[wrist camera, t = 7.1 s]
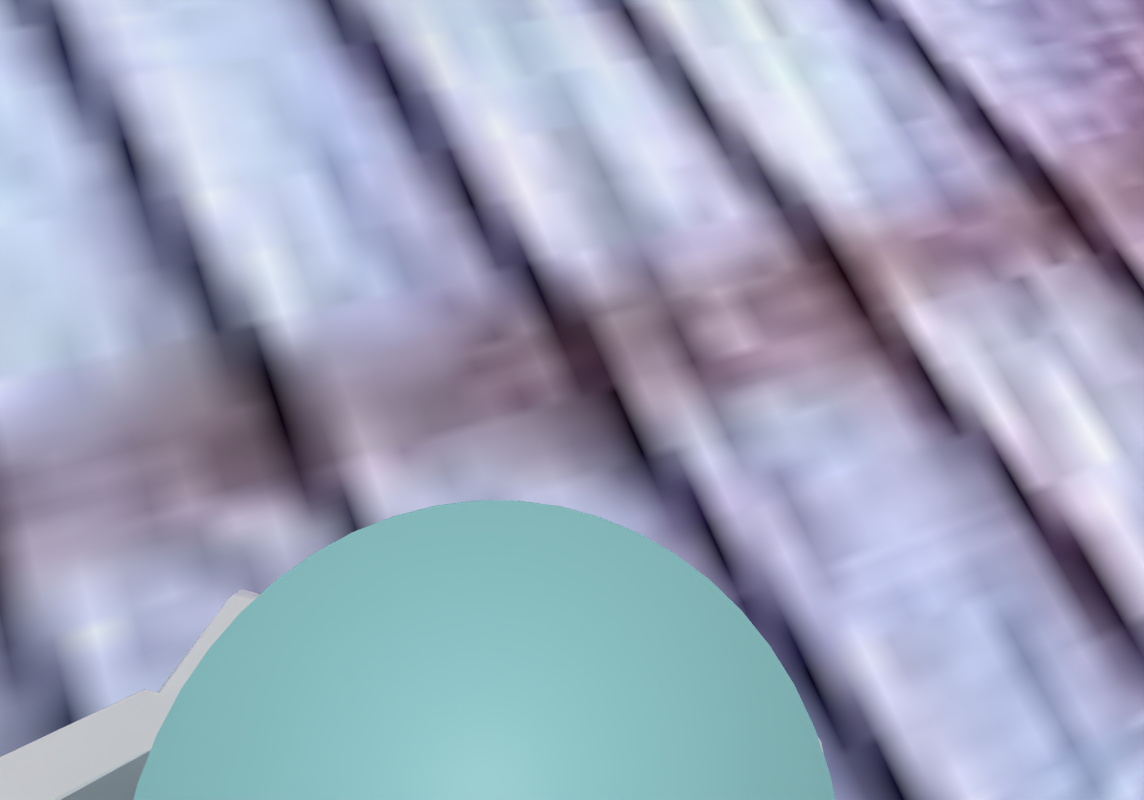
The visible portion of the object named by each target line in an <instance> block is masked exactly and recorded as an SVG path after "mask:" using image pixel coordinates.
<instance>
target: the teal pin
mask: <svg viewBox="0 0 1144 800" xmlns="http://www.w3.org/2000/svg"><path fill="white" fill-rule="evenodd" d="M133 800H835V795H834V791H833V786H832V781H831V776H830V773H829V770H828V767H827V764H826V761H825V758H824V755H823V752H822V749H821V746H820V743H819V740H818V737H817V734H816V731H815V728H814V726H813V724H812V722H811V719H810V717H809V715H808V713H807V711H806V709H805V707H804V705H803V702H802V700H801V698H800V696H799V694H798V692H797V690H796V688H795V685H794V684H793V682H792V681H791V679H790V677H789V676H788V674H787V673H786V671H785V669H784V668H783V666H782V665H781V663H780V661H779V660H778V658H777V656H776V655H775V653H774V652H773V650H772V648H771V647H770V645H769V644H768V643H767V642H766V640H765V639H764V638H763V637H762V636H761V634H760V633H759V632H758V631H757V629H756V628H755V627H754V626H753V624H752V623H751V622H750V621H749V619H748V618H747V617H746V616H745V614H744V613H743V612H742V611H741V610H740V609H739V608H738V607H737V606H736V605H735V604H734V603H733V602H732V601H731V600H730V599H729V598H728V597H727V596H726V595H725V594H724V593H723V592H722V591H721V590H720V589H719V588H718V587H717V586H716V585H715V584H714V583H713V582H711V581H710V580H709V579H708V578H706V577H705V576H704V575H703V574H701V573H700V572H699V571H697V570H696V569H695V568H693V567H692V566H691V565H689V564H688V563H687V562H685V561H684V560H683V559H681V558H680V557H679V556H677V555H676V554H674V553H673V552H671V551H669V550H667V549H666V548H664V547H662V546H660V545H659V544H657V543H655V542H653V541H652V540H650V539H648V538H646V537H645V536H643V535H641V534H640V533H637V532H635V531H632V530H630V529H628V528H625V527H623V526H620V525H618V524H615V523H613V522H611V521H608V520H606V519H603V518H601V517H598V516H594V515H590V514H586V513H583V512H579V511H575V510H572V509H568V508H564V507H561V506H553V505H546V504H539V503H532V502H524V501H470V502H461V503H453V504H445V505H437V506H432V507H428V508H424V509H420V510H416V511H412V512H409V513H405V514H401V515H397V516H393V517H391V518H388V519H385V520H383V521H380V522H378V523H375V524H373V525H370V526H368V527H365V528H362V529H360V530H357V531H355V532H352V533H351V534H349V535H347V536H345V537H343V538H341V539H340V540H338V541H336V542H334V543H332V544H330V545H328V546H327V547H325V548H323V549H321V550H319V551H317V552H316V553H314V554H312V555H311V556H309V557H308V558H307V559H305V560H304V561H302V562H301V563H300V564H298V565H297V566H295V567H294V568H293V569H291V570H290V571H288V572H287V573H285V574H284V575H283V576H281V577H280V578H278V579H277V580H276V581H275V582H273V583H272V584H271V585H270V586H269V587H268V588H267V589H266V590H265V591H264V592H262V593H261V594H260V595H259V596H258V597H257V598H256V599H255V600H254V601H252V602H251V603H250V604H249V605H248V606H247V607H246V608H245V609H244V610H243V611H241V612H240V614H239V615H238V616H237V617H236V618H235V619H234V620H233V622H232V623H231V624H230V625H229V626H228V627H227V628H226V630H225V631H224V632H223V633H222V634H221V635H220V636H219V638H218V639H217V640H216V641H215V642H214V643H213V644H212V646H211V647H210V648H209V649H208V651H207V652H206V654H205V655H204V656H203V658H202V659H201V661H200V662H199V664H198V665H197V667H196V668H195V670H194V671H193V672H192V674H191V675H190V677H189V678H188V680H187V681H186V683H185V684H184V686H183V687H182V688H181V690H180V692H179V694H178V696H177V697H176V699H175V701H174V703H173V705H172V707H171V709H170V711H169V713H168V714H167V716H166V718H165V720H164V722H163V724H162V726H161V728H160V730H159V731H158V733H157V735H156V738H155V740H154V743H153V745H152V748H151V751H150V753H149V756H148V758H147V761H146V763H145V766H144V768H143V771H142V774H141V776H140V779H139V781H138V784H137V787H136V791H135V795H134V799H133Z"/></svg>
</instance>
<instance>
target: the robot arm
mask: <svg viewBox="0 0 1144 800" xmlns="http://www.w3.org/2000/svg"><path fill="white" fill-rule="evenodd" d="M259 595H260V594H257V593H254V592H250V591H247V590H243V589H241V590H239V591H238V592H236V593H235V594H233V595H232V596H230V597H229V599H228V600H227V601H226V603H225V604H224V605H223V606H222V608H221V609H220V610H219V612H218V613H217V614H216V616H215V617H214V618H213V620H212V621H211V622H210V624H209V625H208V626H207V628H206V629H205V630H204V632H203V633H202V634H201V636H200V637H199V638H198V640H197V641H196V642H195V644H194V645H193V646H192V648H191V649H190V650H189V652H188V653H187V654H186V656H185V657H184V658H183V660H182V661H181V662H180V664H179V665H178V666H177V668H176V669H175V670H174V672H173V673H172V674H171V676H170V677H169V678H168V680H167V681H166V682H165V684H164V685H163V686H162V688H161V689H160V690H159V692H158V693H157V692H153V691H149V690H142V691H140V692H138V693H136V694H134V695H131V696H129V697H127V698H125V699H123V700H121V701H119V702H116V703H114V704H112V705H110V706H108V707H106V708H104V709H102V710H99V711H97V712H95V713H93V714H91V715H89V716H87V717H85V718H82V719H80V720H78V721H76V722H74V723H72V724H70V725H67V726H65V727H63V728H61V729H59V730H57V731H55V732H53V733H50V734H48V735H46V736H44V737H42V738H40V739H38V740H36V741H33V742H31V743H29V744H27V745H25V746H23V747H21V748H18V749H16V750H14V751H12V752H10V753H8V754H6V755H4V756H1V757H0V800H133V799H134V795H135V791H136V787H137V784H138V781H139V779H140V776H141V774H142V771H143V768H144V766H145V763H146V761H147V758H148V756H149V753H150V751H151V748H152V745H153V743H154V740H155V738H156V735H157V733H158V731H159V730H160V728H161V726H162V724H163V722H164V720H165V718H166V716H167V714H168V713H169V711H170V709H171V707H172V705H173V703H174V701H175V699H176V697H177V696H178V694H179V692H180V690H181V688H182V687H183V686H184V684H185V683H186V681H187V680H188V678H189V677H190V675H191V674H192V672H193V671H194V670H195V668H196V667H197V665H198V664H199V662H200V661H201V659H202V658H203V656H204V655H205V654H206V652H207V651H208V649H209V648H210V647H211V646H212V644H213V643H214V642H215V641H216V640H217V639H218V638H219V636H220V635H221V634H222V633H223V632H224V631H225V630H226V628H227V627H228V626H229V625H230V624H231V623H232V622H233V620H234V619H235V618H236V617H237V616H238V615H239V614H240V612H241V611H243V610H244V609H245V608H246V607H247V606H248V605H249V604H250V603H251V602H252V601H254V600H255V599H256V598H257V597H258V596H259ZM817 737H818V736H817ZM818 740H819V743H820V746H821V749H822V744H821V741H820V739H819V738H818ZM822 752H823V749H822ZM823 755H824V754H823Z"/></svg>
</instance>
